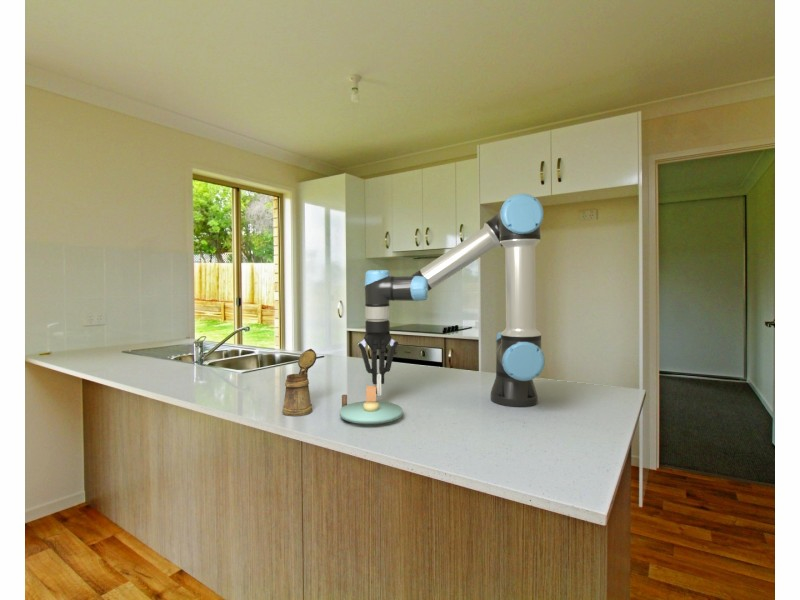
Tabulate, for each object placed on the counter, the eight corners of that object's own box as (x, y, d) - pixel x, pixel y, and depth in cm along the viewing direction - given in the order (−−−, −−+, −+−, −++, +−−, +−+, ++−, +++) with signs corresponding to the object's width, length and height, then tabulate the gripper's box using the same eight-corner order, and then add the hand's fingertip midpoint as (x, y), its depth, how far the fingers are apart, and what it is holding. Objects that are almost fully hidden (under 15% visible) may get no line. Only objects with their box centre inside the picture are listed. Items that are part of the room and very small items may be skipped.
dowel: (347, 410, 132) (347, 394, 132) (346, 412, 131) (346, 396, 131) (342, 410, 133) (342, 394, 133) (341, 412, 131) (341, 395, 131)
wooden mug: (324, 405, 139) (324, 349, 138) (303, 417, 126) (302, 356, 125) (299, 402, 142) (299, 347, 141) (276, 414, 129) (275, 354, 128)
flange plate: (399, 401, 138) (399, 385, 138) (404, 423, 117) (404, 404, 117) (342, 402, 137) (342, 386, 137) (337, 424, 116) (337, 405, 116)
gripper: (394, 317, 140) (395, 389, 142) (355, 319, 137) (356, 392, 139) (400, 320, 133) (401, 395, 135) (359, 321, 130) (360, 399, 132)
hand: (378, 394), depth 137 cm, fingers closed
